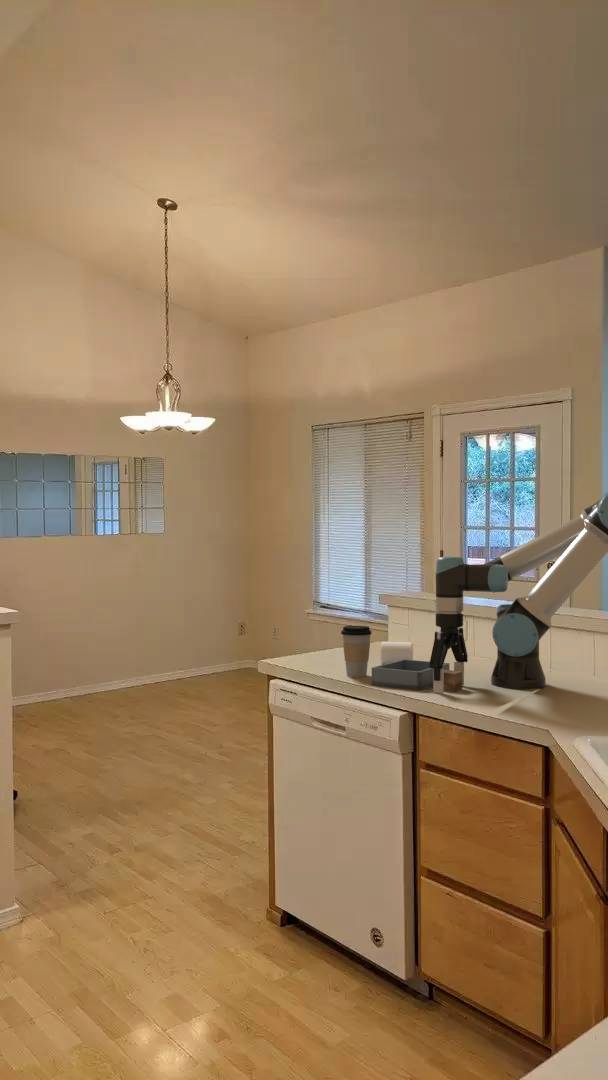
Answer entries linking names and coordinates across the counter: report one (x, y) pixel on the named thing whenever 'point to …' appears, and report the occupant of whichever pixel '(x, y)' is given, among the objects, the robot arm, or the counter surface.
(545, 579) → the robot arm
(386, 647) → the mug
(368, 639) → the coffee cup
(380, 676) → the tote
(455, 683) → the walnut block
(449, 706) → the counter surface
